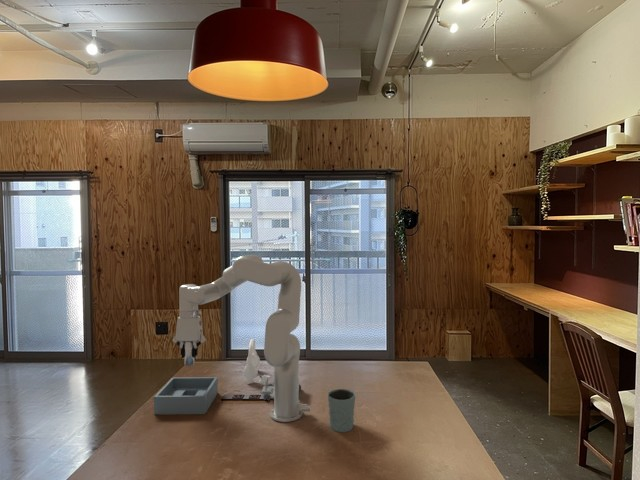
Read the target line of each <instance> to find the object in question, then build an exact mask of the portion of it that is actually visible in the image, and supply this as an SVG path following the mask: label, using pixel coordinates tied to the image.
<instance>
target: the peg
mask: <svg viewBox="0 0 640 480" xmlns="http://www.w3.org/2000/svg"><path fill="white" fill-rule="evenodd" d="M193 348H194V345H193V341H184V358H183V359H184V361H183V364H184V366H186V367H187V366H194V365H195V358H193Z"/></svg>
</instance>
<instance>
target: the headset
mask: <svg viewBox="0 0 640 480" xmlns="http://www.w3.org/2000/svg"><path fill="white" fill-rule="evenodd" d="M260 362H261V359H260V356H259V355H258V351H256V341H255V339H254V338H251V339H250V340H249V343H248V356H247V358H246V365H245V367H244V368H243V376H244V378H245V379H246V384H247V385H249V384H252V383H254V381H255V380H254V379H256V378H257V377H258V371H259V370H258V367H259V366H260Z"/></svg>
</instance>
